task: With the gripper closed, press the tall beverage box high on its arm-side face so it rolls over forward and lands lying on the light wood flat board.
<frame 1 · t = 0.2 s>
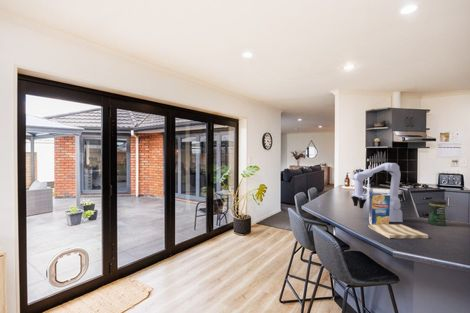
hand: (358, 207, 183), 10 cm above the countertop, fingers open, 7 cm apart
coffee jar: (436, 224, 174), on the countertop
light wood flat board: (396, 232, 155), on the countertop
beverage box: (378, 224, 172), on the countertop
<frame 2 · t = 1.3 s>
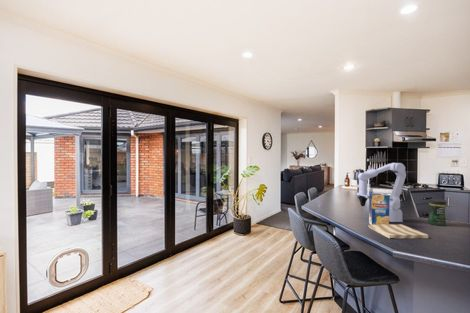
hand: (362, 206, 185), 10 cm above the countertop, fingers closed
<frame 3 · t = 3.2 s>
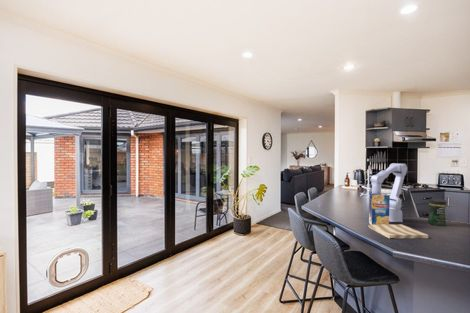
hand: (376, 210, 176), 9 cm above the countertop, fingers closed
beverage box: (378, 224, 172), on the countertop, touching gripper
everything else where it was.
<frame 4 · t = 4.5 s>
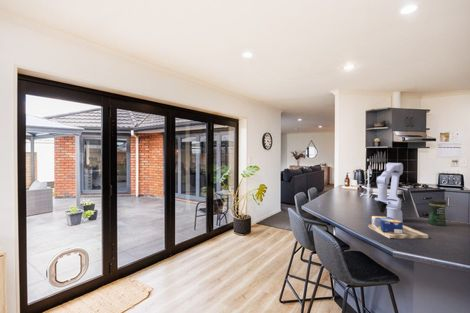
hand: (382, 212, 169), 9 cm above the countertop, fingers closed
beverage box: (380, 221, 169), point 3 cm above the countertop, touching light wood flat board
everything else where it was.
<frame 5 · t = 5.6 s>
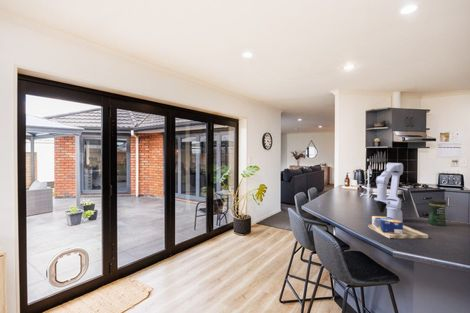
hand: (381, 212, 170), 9 cm above the countertop, fingers closed
nothing on the countertop moved.
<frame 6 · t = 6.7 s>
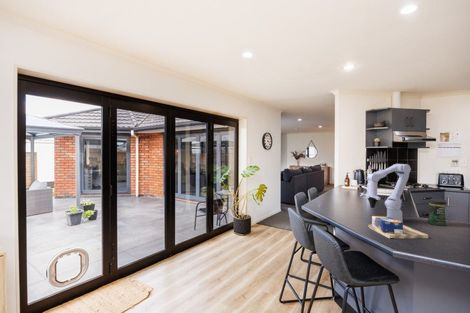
hand: (372, 207, 180), 10 cm above the countertop, fingers closed
nothing on the countertop moved.
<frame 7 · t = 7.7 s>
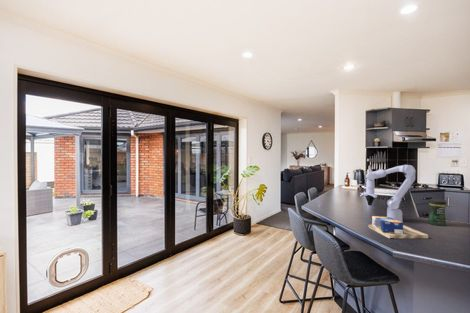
hand: (369, 205, 188), 10 cm above the countertop, fingers closed
nothing on the countertop moved.
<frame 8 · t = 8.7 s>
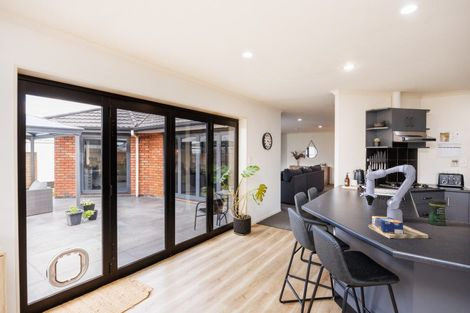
hand: (369, 205, 188), 10 cm above the countertop, fingers closed
nothing on the countertop moved.
at the end: beverage box tilted 84°; beverage box touching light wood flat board, countertop; beverage box inside the target area (10.7 cm from its centre), point 3.3 cm above the countertop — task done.
